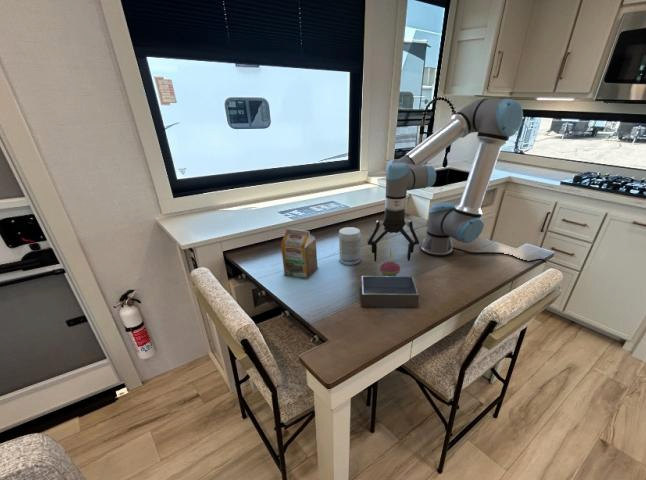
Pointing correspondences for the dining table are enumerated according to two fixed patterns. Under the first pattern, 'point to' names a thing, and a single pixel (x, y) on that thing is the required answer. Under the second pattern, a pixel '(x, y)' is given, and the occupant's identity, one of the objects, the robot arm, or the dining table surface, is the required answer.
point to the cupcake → (390, 268)
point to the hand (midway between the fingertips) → (391, 259)
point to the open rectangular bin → (389, 291)
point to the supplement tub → (349, 245)
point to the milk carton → (299, 253)
